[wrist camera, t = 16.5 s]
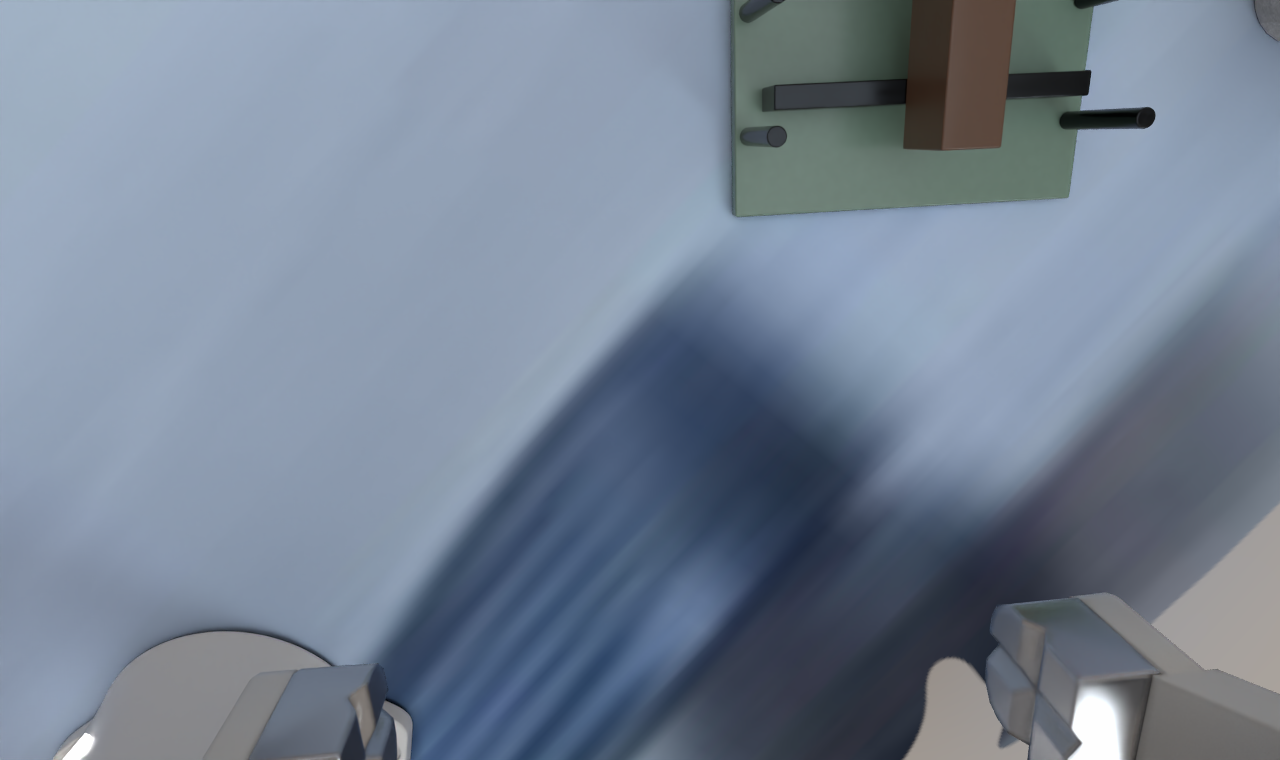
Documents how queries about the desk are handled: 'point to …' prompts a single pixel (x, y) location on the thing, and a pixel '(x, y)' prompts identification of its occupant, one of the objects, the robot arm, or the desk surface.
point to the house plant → (1269, 16)
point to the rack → (896, 109)
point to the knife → (958, 74)
